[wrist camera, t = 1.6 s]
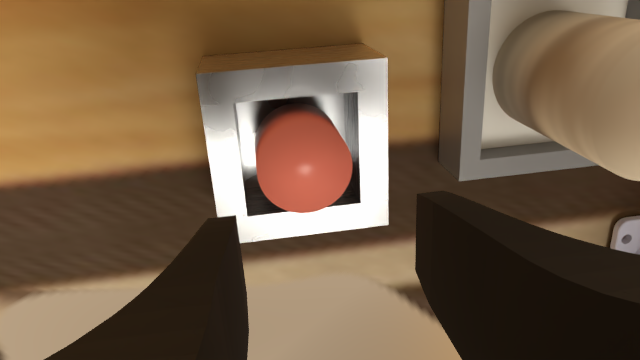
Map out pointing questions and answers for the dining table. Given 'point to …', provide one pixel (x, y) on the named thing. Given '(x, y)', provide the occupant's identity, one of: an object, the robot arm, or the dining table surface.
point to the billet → (576, 84)
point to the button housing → (286, 88)
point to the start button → (301, 158)
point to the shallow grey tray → (478, 95)
